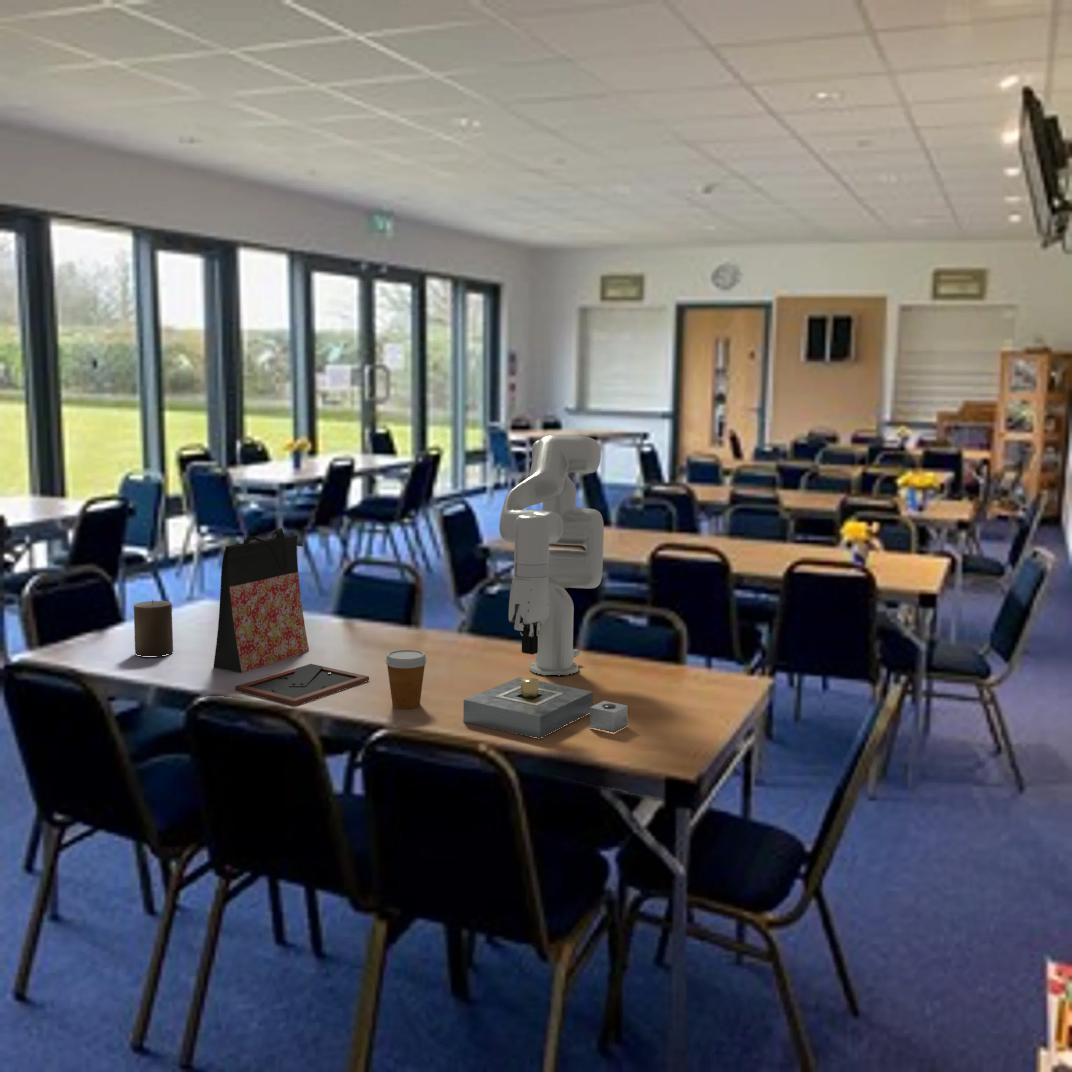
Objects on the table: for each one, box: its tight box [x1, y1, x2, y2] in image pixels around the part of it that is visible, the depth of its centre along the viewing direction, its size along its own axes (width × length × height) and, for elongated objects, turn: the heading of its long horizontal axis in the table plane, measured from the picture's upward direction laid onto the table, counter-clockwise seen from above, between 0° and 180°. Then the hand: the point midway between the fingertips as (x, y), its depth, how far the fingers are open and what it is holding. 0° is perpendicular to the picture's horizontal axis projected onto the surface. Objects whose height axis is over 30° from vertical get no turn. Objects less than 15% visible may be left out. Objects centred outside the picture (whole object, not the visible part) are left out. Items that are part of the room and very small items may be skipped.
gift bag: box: [213, 527, 310, 674], centre depth 276 cm, size 29×14×35 cm, turn 152°
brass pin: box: [520, 677, 540, 700], centre depth 232 cm, size 4×4×5 cm
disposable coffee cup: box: [384, 649, 428, 710], centre depth 239 cm, size 10×10×12 cm
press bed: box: [462, 676, 594, 740], centre depth 232 cm, size 22×20×5 cm
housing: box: [588, 700, 629, 733], centre depth 226 cm, size 6×6×5 cm
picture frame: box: [234, 663, 370, 707], centre depth 254 cm, size 20×2×25 cm
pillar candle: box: [133, 599, 174, 656], centre depth 280 cm, size 10×10×15 cm
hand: (529, 652), depth 230 cm, fingers closed
